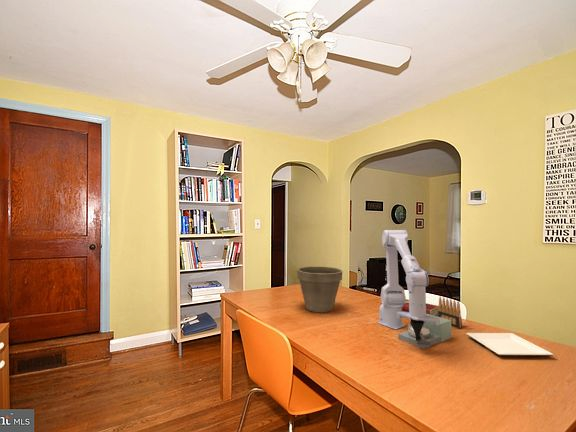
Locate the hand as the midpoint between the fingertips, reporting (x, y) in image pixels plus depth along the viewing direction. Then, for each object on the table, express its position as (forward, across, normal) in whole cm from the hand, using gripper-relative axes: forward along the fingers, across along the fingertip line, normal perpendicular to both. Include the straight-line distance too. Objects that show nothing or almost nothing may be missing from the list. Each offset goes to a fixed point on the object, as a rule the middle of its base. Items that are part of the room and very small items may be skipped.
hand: (418, 340), depth 105 cm
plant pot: (+3, -55, +22) cm, 59 cm away
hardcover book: (+4, -11, +48) cm, 50 cm away
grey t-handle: (+1, 0, +4) cm, 4 cm away
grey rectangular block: (+3, 0, +12) cm, 12 cm away
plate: (+3, +26, +20) cm, 33 cm away
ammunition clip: (+3, +6, +35) cm, 36 cm away
